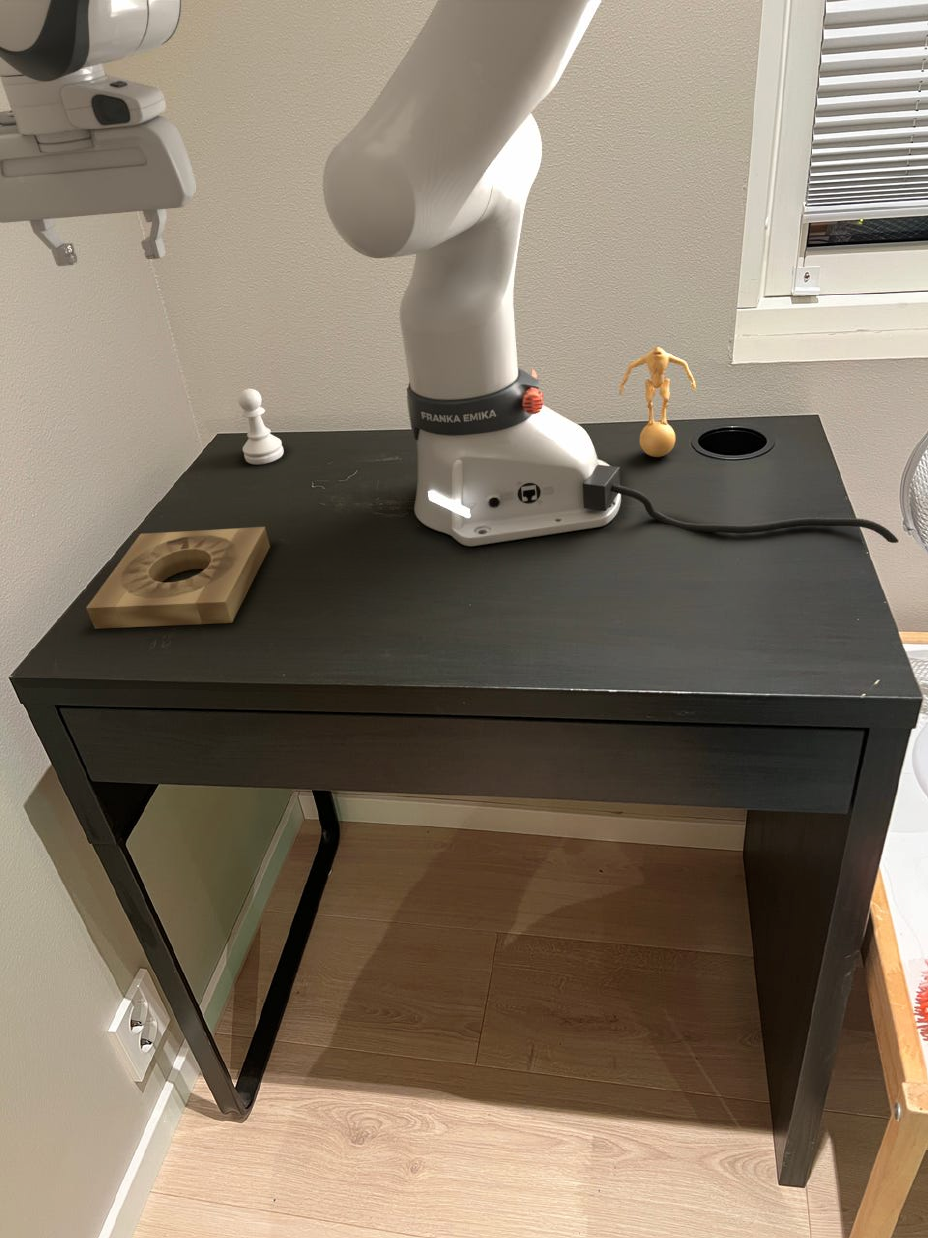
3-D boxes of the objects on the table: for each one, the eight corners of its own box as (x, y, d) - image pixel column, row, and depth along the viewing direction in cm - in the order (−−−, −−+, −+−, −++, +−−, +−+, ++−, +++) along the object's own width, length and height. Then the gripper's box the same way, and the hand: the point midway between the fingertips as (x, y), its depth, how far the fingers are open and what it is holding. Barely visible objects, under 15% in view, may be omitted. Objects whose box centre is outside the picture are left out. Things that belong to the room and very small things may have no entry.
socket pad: (270, 546, 99) (265, 526, 98) (232, 623, 88) (225, 601, 86) (147, 553, 101) (140, 533, 100) (94, 629, 90) (85, 608, 88)
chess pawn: (242, 467, 117) (223, 399, 111) (249, 450, 121) (231, 384, 116) (281, 462, 116) (264, 394, 111) (286, 445, 120) (270, 379, 115)
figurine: (620, 464, 105) (618, 361, 98) (621, 441, 110) (619, 342, 103) (695, 461, 104) (698, 357, 97) (693, 438, 108) (696, 337, 101)
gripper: (-61, 121, 83) (0, 277, 91) (154, 99, 80) (197, 262, 89) (-25, 110, 88) (30, 259, 96) (179, 88, 85) (217, 244, 94)
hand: (112, 260), depth 93 cm, fingers open, 8 cm apart
